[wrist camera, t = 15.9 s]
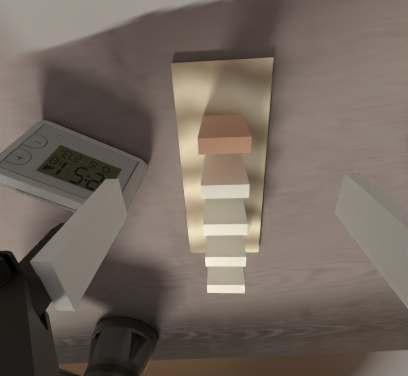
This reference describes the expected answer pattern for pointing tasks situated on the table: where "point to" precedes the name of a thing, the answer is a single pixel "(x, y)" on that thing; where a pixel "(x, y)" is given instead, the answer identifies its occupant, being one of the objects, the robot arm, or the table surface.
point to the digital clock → (66, 166)
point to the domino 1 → (224, 135)
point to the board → (222, 105)
